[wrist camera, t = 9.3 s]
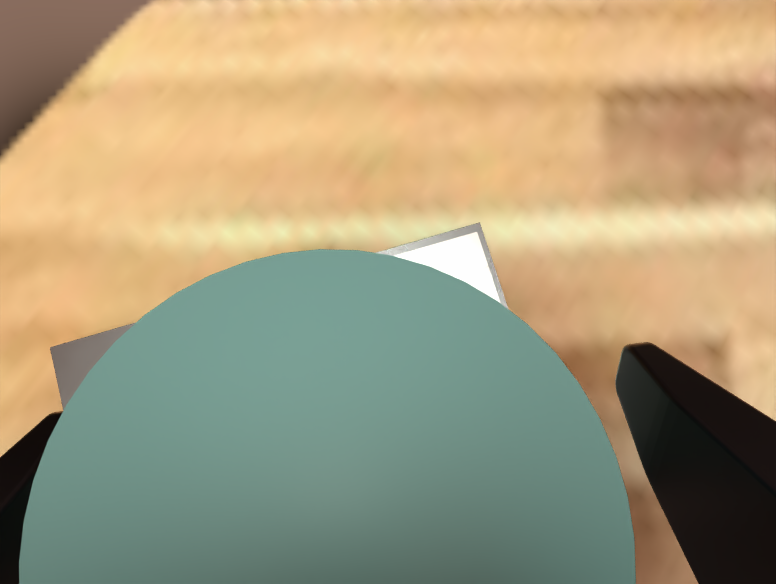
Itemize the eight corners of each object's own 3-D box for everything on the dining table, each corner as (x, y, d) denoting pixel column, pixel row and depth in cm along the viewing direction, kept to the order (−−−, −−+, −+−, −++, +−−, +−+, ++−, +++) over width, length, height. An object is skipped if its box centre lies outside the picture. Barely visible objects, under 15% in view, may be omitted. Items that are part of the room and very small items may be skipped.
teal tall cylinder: (490, 433, 17) (766, 593, 5) (362, 544, 17) (274, 1062, 4) (384, 307, 18) (367, 137, 5) (259, 412, 18) (-100, 507, 5)
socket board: (653, 786, 18) (731, 906, 14) (206, 940, 17) (151, 1112, 13) (472, 234, 20) (494, 198, 16) (75, 349, 19) (-4, 343, 15)
